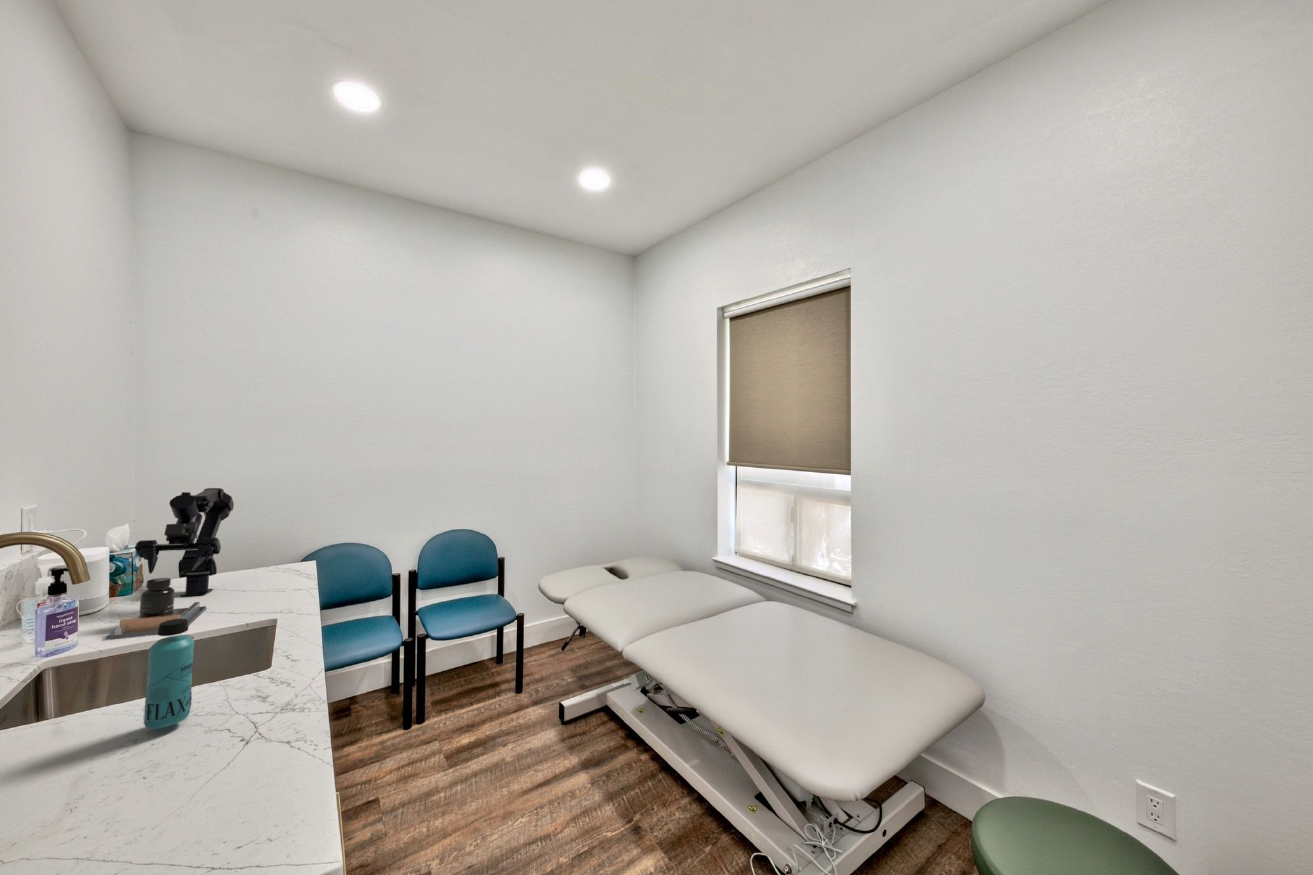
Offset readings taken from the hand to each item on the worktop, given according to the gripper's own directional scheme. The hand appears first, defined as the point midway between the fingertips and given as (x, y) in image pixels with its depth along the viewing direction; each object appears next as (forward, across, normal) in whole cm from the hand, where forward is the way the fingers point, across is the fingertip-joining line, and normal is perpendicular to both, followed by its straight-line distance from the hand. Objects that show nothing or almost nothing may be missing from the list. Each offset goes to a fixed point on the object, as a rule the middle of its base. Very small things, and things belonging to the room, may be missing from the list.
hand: (171, 571), depth 148 cm
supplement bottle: (+14, 0, +3) cm, 15 cm away
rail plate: (+14, 0, +5) cm, 15 cm away
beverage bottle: (+61, +21, -42) cm, 77 cm away
